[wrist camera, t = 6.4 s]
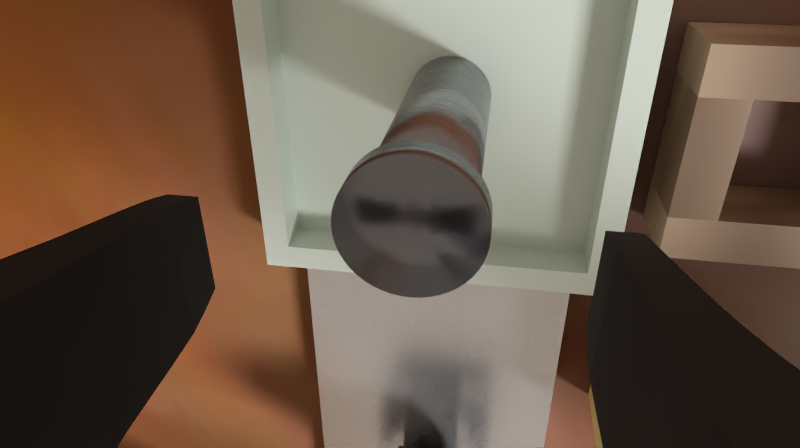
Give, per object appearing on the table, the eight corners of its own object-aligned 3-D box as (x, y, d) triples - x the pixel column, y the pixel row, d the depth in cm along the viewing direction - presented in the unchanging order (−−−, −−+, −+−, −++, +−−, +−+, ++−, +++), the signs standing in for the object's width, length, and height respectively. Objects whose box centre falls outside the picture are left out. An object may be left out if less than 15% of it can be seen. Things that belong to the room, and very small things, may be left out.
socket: (936, 29, 16) (998, 54, 14) (849, 231, 19) (889, 276, 17) (687, 21, 16) (711, 43, 14) (643, 215, 19) (657, 256, 17)
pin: (504, 46, 17) (495, 161, 10) (499, 146, 18) (487, 303, 12) (398, 44, 17) (323, 154, 11) (401, 142, 19) (337, 292, 12)
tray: (679, -115, 15) (697, -112, 13) (603, 265, 21) (610, 297, 19) (244, -115, 17) (216, -114, 15) (285, 237, 22) (267, 264, 21)
